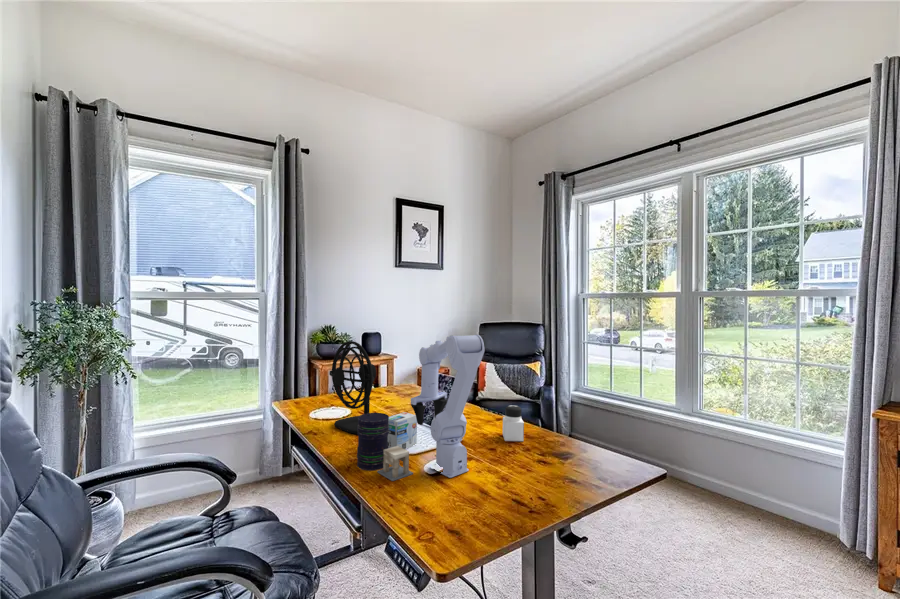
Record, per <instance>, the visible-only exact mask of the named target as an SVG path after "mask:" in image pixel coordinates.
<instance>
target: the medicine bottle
mask: <svg viewBox="0 0 900 599" xmlns="http://www.w3.org/2000/svg"><path fill="white" fill-rule="evenodd" d="M524 431H525V422H524V420H523V419H522V407H520V406H518V405H507V406H506V407H505V415H504V416H503V417H502V436H503V439H504V441H505V442H524V440H525V439H524V438H525V437H524V436H525V432H524Z"/></svg>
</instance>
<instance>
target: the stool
mask: <svg viewBox="0 0 900 599" xmlns="http://www.w3.org/2000/svg"><path fill="white" fill-rule="evenodd" d="M409 460H410V450H407V449H403V448H401V447H399V446H395V447H392V448H388V449H385V450H384V462H383V468H382V469H383V471H384V472H385V473H386V472H389V467H390V466H393V471H392V477H394V478H396V477H398V468H399V465H400V461H401V462H402V467H403V473H404V474H408V473H409V471H410V464H409V463H410V461H409Z"/></svg>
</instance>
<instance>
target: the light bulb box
mask: <svg viewBox="0 0 900 599" xmlns="http://www.w3.org/2000/svg"><path fill="white" fill-rule="evenodd" d="M388 421H389V434H388V448H392V447H395V446H399V447H401V448H403V449H405V450H407V449H406V448H408V447H410V446H413V445H415V444H417V442H418V441H417V440H418V439H417V437H418V434H417V433H418V423H417V419H416V415H415V414H412V413H409V412H405V411H403V412H401V413H397V414H393V415H391V416H389V420H388ZM415 446H416V445H415ZM413 447H414V446H413ZM410 448H411V447H410ZM408 449H409V448H408Z"/></svg>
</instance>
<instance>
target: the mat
mask: <svg viewBox="0 0 900 599" xmlns="http://www.w3.org/2000/svg"><path fill="white" fill-rule="evenodd" d="M392 471H393V466H392V465H390V466H389V472H386V473H385V472H384V471H383V468H382V469H379V470H376V472H377V473H378V474H380V475H381V476H383V478H386V479H388V480H389V481H391V482H395V481H398V480H400V479H403V478H406V477H409V476H412V475H414V472H413V471H411V470H409V473H408V474H404V473H403V465H402V466H401V465H400V464H399V468H398V477H396V478H394V477H392Z"/></svg>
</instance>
